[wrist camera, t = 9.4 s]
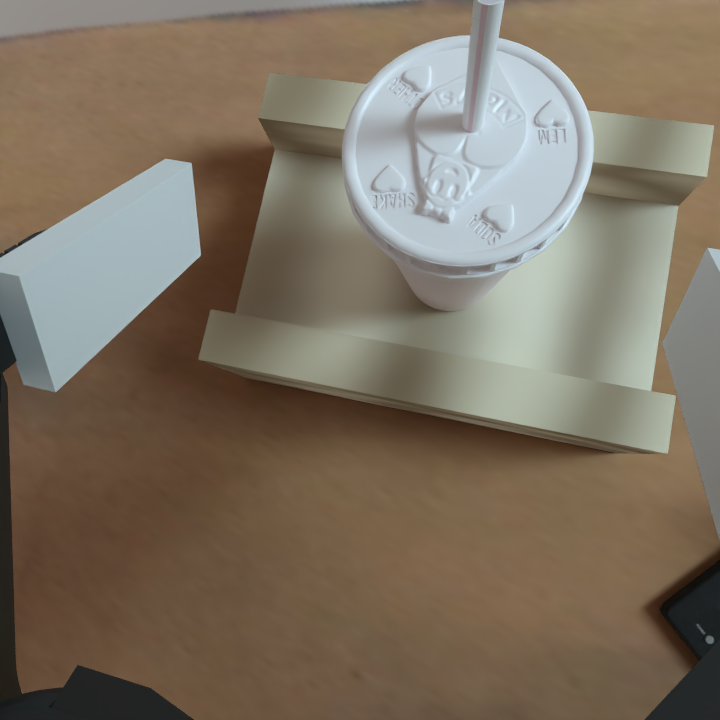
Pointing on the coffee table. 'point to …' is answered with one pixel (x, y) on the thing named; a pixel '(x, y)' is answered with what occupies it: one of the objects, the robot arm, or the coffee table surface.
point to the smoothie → (466, 160)
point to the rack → (481, 321)
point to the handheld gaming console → (697, 612)
